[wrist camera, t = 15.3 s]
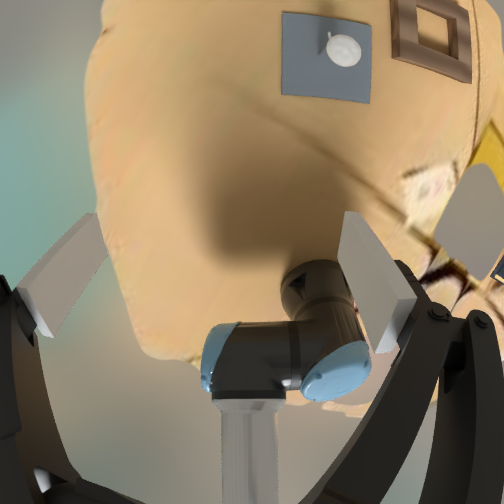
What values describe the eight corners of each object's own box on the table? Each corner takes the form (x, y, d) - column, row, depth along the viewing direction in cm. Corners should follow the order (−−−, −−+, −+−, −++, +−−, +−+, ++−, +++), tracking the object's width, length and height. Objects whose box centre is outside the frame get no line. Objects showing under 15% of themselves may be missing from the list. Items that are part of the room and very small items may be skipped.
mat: (368, 103, 37) (369, 103, 36) (281, 94, 37) (282, 94, 37) (369, 26, 30) (370, 25, 29) (282, 13, 30) (282, 12, 29)
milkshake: (321, 35, 31) (339, 20, 23) (348, 57, 33) (373, 49, 24) (303, 54, 33) (317, 43, 24) (331, 76, 35) (352, 72, 26)
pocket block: (461, 82, 32) (471, 83, 30) (391, 58, 32) (400, 57, 30) (458, 12, 24) (468, 10, 21) (387, -18, 24) (395, -23, 21)
